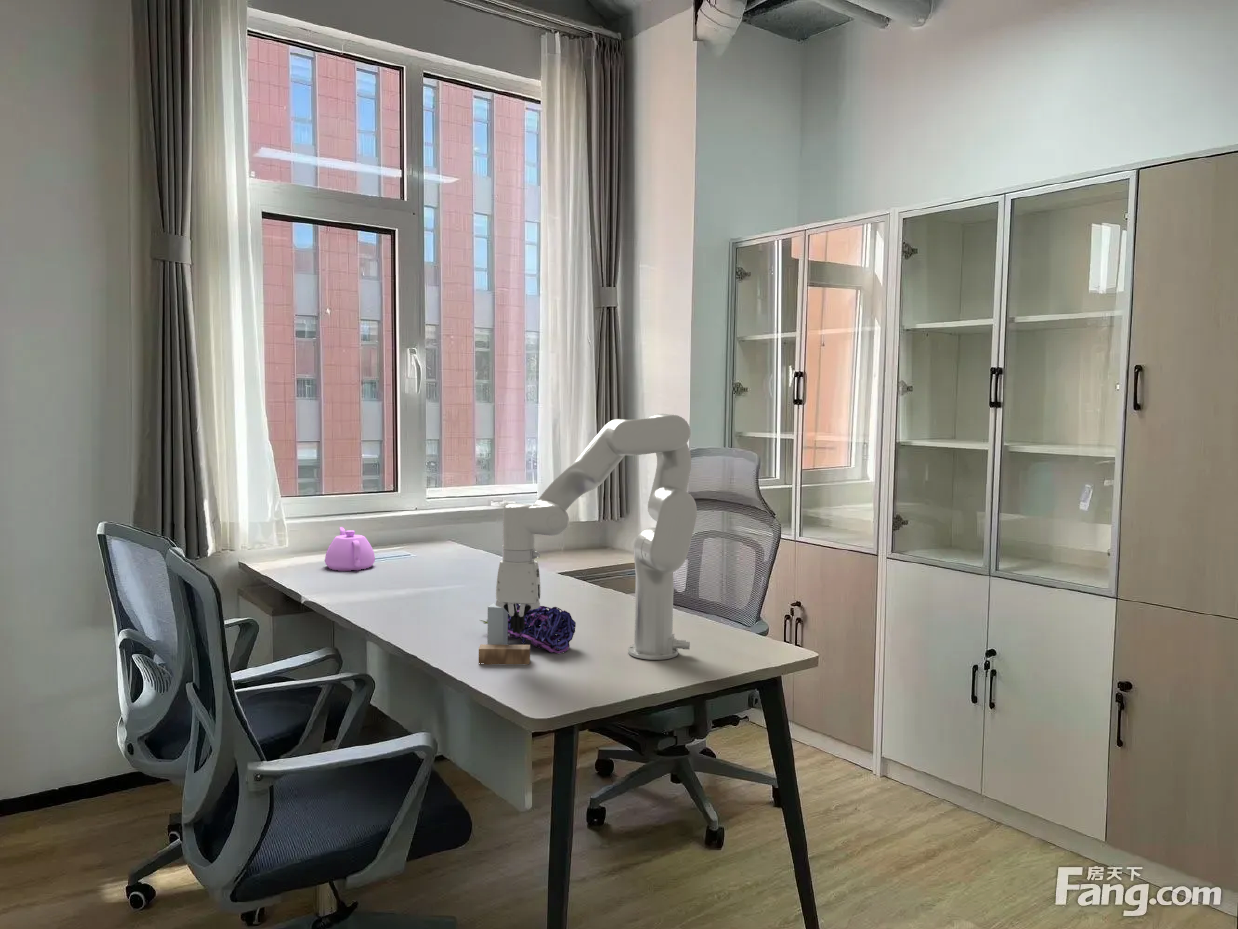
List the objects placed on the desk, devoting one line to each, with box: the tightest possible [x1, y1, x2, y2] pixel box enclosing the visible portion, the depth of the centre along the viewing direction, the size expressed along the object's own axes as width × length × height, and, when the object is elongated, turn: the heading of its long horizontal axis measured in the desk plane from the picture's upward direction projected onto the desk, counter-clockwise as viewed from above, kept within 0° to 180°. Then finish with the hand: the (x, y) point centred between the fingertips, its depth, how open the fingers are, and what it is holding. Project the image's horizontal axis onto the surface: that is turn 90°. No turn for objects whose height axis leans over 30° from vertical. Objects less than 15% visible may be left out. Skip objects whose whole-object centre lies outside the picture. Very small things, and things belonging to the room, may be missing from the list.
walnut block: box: [478, 643, 531, 665], centre depth 220 cm, size 4×4×12 cm
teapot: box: [324, 526, 376, 572], centre depth 338 cm, size 25×18×14 cm
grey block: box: [486, 603, 509, 645], centre depth 228 cm, size 4×4×12 cm
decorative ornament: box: [479, 604, 576, 654], centre depth 239 cm, size 13×11×30 cm
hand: (517, 631), depth 219 cm, fingers closed
